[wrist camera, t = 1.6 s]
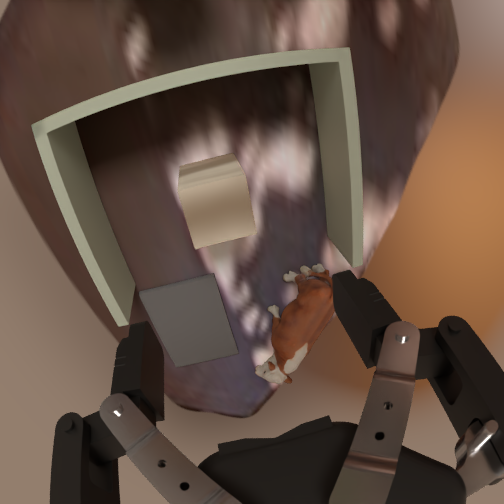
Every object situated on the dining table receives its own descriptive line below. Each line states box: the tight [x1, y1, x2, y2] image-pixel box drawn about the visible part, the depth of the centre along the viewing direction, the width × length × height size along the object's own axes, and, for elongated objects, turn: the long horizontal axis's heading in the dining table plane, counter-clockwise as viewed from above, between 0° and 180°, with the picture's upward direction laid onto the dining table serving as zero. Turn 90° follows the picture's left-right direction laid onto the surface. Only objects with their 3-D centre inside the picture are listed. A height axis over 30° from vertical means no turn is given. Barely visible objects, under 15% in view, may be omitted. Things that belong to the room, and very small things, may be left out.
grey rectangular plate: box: [139, 273, 239, 367], centre depth 35 cm, size 12×8×1 cm, turn 10°
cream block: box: [178, 153, 257, 249], centre depth 25 cm, size 5×5×6 cm
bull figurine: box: [255, 264, 335, 384], centre depth 32 cm, size 4×14×8 cm, turn 152°
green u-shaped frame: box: [31, 47, 363, 326], centre depth 24 cm, size 18×22×6 cm
